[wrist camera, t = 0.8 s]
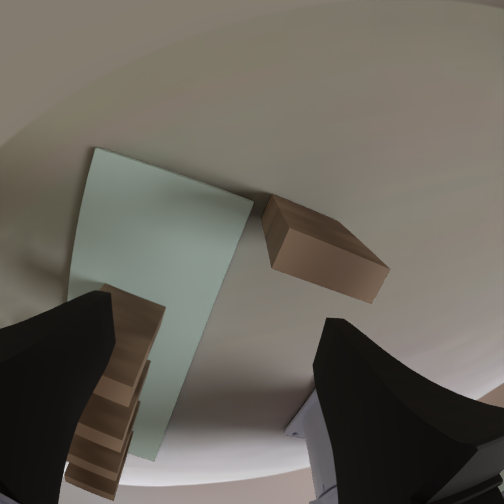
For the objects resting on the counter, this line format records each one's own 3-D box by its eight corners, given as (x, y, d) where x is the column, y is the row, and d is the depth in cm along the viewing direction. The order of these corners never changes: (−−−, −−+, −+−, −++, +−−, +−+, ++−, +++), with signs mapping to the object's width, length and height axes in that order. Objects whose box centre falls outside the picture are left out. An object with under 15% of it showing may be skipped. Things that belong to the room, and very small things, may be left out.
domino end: (133, 431, 24) (114, 495, 17) (131, 439, 25) (113, 501, 17) (90, 414, 23) (64, 474, 16) (90, 422, 24) (65, 481, 17)
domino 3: (140, 401, 23) (117, 473, 15) (138, 411, 23) (116, 481, 16) (92, 381, 22) (58, 448, 15) (91, 393, 22) (60, 458, 15)
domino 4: (338, 221, 19) (390, 269, 11) (327, 244, 19) (371, 303, 12) (271, 193, 18) (289, 227, 11) (261, 218, 18) (271, 268, 11)
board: (253, 201, 18) (253, 203, 17) (155, 457, 26) (154, 461, 26) (99, 147, 17) (95, 147, 16) (68, 423, 25) (66, 427, 25)
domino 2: (150, 360, 21) (122, 440, 14) (147, 375, 22) (120, 452, 14) (96, 339, 20) (53, 409, 13) (95, 354, 21) (55, 424, 14)
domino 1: (166, 306, 20) (132, 387, 12) (160, 325, 20) (128, 407, 13) (105, 282, 19) (49, 350, 12) (101, 302, 19) (50, 372, 12)
